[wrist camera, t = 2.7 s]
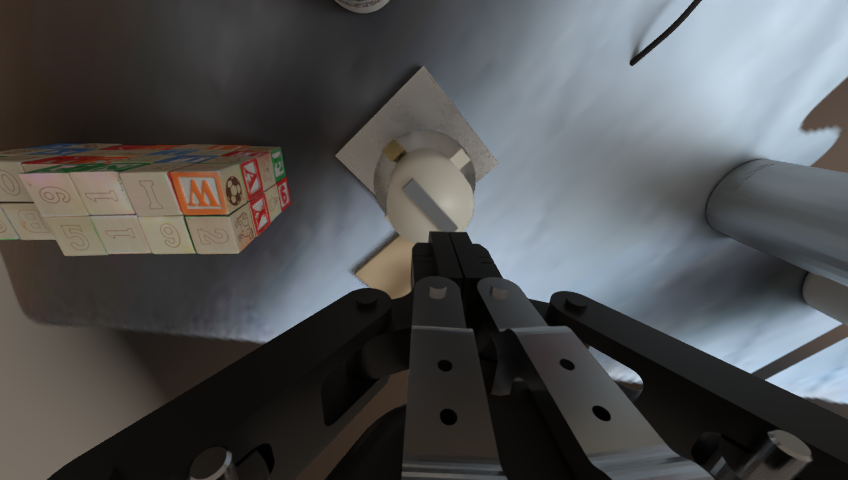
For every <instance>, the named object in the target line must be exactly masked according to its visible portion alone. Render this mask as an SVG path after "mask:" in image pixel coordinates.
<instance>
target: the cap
mask: <svg viewBox="0 0 848 480" xmlns="http://www.w3.org/2000/svg"><path fill="white" fill-rule="evenodd" d="M470 160H471V159H470V158H469V157H468V156H467V154H466V153H465V152H464V151H463V149H462V148H461V147H459V148H458V149H457V150H455V151H454V152H453V153H452V154H451V155H450V156H449V157H448V156H447V155H445V154H444V153H442V152H440V151H437V150H434V149H428V148H423V149H417V150H413V151H411V152H409V153H407V154H406V155H404V156H403V157H402V158H401V159H400V160H399V161H398V162H397V163H396V165H395V166H394V168H393V170H392V173H391V177H390V183H389V189H388V196H387V212H386V213H385V218H386V219H387V220H388V221H389V222H390V223H391V225H392V226H393V228H394V229H395V231H396V232H397V233H398V234H399V235H400V236H402V237H403V238H404V239H406V240H407V241H409V242H411V243H414V244H416V243H417V242H422V243H428V238H429V231H446V232H463V231H464V229H465V228H466V227H467V225H468V224H469V222H470V220H471V217H472V214H473V210H474V196H473V191H472V189H471V186H470V184H469V182H468V181H467V180H466V178H465V177H464V175H463V174H462V173H461V172H460V169H461V168H462V167H463V166H464V165H465V164H467V163H468V162H469V161H470Z"/></svg>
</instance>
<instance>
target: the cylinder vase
mask: <svg viewBox="0 0 848 480" xmlns="http://www.w3.org/2000/svg"><path fill="white" fill-rule="evenodd" d="M803 297H804V299H805V301H806V302H807V304H808V305H810V306H811V307H812V308H814V309H816V310H818V311H820V312H822V313H824V314H826V315H828V316H830V317H832V318H833V319H835V320H837V321H839V322H841V323H843V324H845V325H847V326H848V287H847V286H845V285H843V284H840V283H838V282H836V281H833V280H831V279H829V278H826V277H824V276H818V275H816V274H813V273H811V272H809V273H808V275H807V277H806V279H805V281H804V285H803Z"/></svg>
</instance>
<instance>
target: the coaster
mask: <svg viewBox="0 0 848 480" xmlns="http://www.w3.org/2000/svg"><path fill="white" fill-rule="evenodd" d="M414 245H415V244H414V243H411V242H409V241H407V240H406V239H404V238H403V237H402V236H400V235H399V234H398V235H397V236H396V237H395V238H394V239H392V240H391V241H390V242H389V243H388V244H387V245H385V246H384V247H383V248H382V249H381V250H380V251H379V252H377V253H376V254H375V255H374V256H373V257H372V258H370V259H369V260H368V261H367V262H366V263H365V264H363V265H362V266H361V267H360V268H359V269H358V270H356V272H355V275H356V276H357V277H358V278H359V279H361V280H362V281H363V282H364V283H365V284H367V285H368V286H369V287H370V288H375V289H379V290H382V291H384V292H386V293H387V294H388V295H389V296H390V297H391V299H396V298H400V297H403V296H405V295H407V294H408V293H410V292H411V283H410V278H411V258H412V248H413V246H414Z"/></svg>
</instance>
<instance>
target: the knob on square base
mask: <svg viewBox="0 0 848 480" xmlns="http://www.w3.org/2000/svg"><path fill="white" fill-rule="evenodd" d="M459 147H461V148H462V149H463V151H464V152H465V153H466V154H467V156H468V157H469V158H470V159H471V160H470V161H469V162H468V163H467V164H465V165H464V166H463V167H462V168H461V169H460V172H461V173H462V174H463V175H464V177H465V178H466V180H467V181H468V182H469V184H470V186H471V189H472V191H473V194H474V190H475V183H476V182H478V181H479V180H480V179H481V178H482V177H483V176H485V175H486V174H487V173H488V172H489V171H491V170H492V169H493V168H494V167H495V166H496V165H498V164H499V163H498V162H497V160H496V159H495V158H494V157H493V155H492V154H491V153H490V151H489V150H488V149H487V147H486V146H485V145H484V144H483V142H482V141H481V140H480V138H479V137H478V136H477V134H476V133H475V132H474V131H473V129H472V128H471V127H470V125H469V124H468V123H467V121H466V120H465V119H464V118H463V116H462V115H461V114H460V112H459V111H458V110H457V108H456V107H455V106H454V105H453V103H452V102H451V101H450V99H449V98H448V97H447V95H446V94H445V93H444V92H443V90H442V89H441V88H440V86H439V85H438V84H437V82H436V81H435V80H434V79H433V77H432V76H431V75H430V73H429V72H428V71H427V69H426V68H425V67H424V66H423V67H422V68H421V69H420V70H419V71H418V72H417V73H416V74H415V75H414V76H413V77H412V78H411V79H410V80H409V81H408V82H407V83H406V84H405V85H404V86H403V87H402V88H401V89H400V90H399V91H398V92H397V93H396V94H395V95H394V96H393V97H392V98H391V99H390V100H389V101H388V102H387V103H386V104H385V105H384V106H383V107H382V108H381V109H380V110H379V111H378V112H377V113H376V114H375V115H374V116H373V117H372V118H371V120H370V121H369V122H368V123H367V124H366V125H365V126H364V127H363V128H362V129H361V130H360V131H359V132H358V133H357V134H356V135H355V136H354V137H353V138H352V139H351V140H350V141H349V142H348V143H347V144H346V145H345V146H344V147H343V148H342V149H341V150H340V151H339V152H338V153H337V154H336V155H335V156H336V157H337V158H338V159H339V160H340V161H341V162H342V163H343V164H344V165H345V166H346V167H347V168H348V169H349V170H350V171H351V172H352V173H353V174H354V175H355V176H356V177H357V178H358V179H359V180H360V181H361V182H362V183H363V184H364V185H365V186H366V187H367V188H368V189H369V190H370V191H371V192H372V193H373V194H374V195H375V196H376V199H377V201H378V203H379V205H380V207H381V209H382V210H383V211H384V213H386V212H387V196H388V189H389V183H390V177H391V173H392V170H393V168H394V166H395V165H396V163H397V162H398V161H399V160H400V159H401V158H402V157H403V156H404V155H406V154H407V153H409V152H411V151H413V150H417V149H423V148H428V149H434V150H437V151H440V152H442V153H444V154H445V155H447V156H448V157H449V156H450V155H451V154H452V153H453V152H454V151H455V150H457V149H458V148H459Z"/></svg>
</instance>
